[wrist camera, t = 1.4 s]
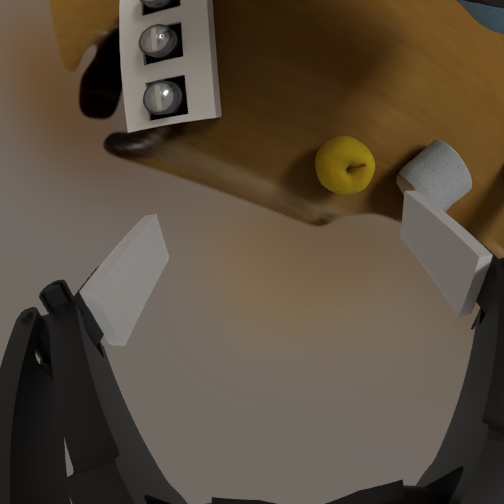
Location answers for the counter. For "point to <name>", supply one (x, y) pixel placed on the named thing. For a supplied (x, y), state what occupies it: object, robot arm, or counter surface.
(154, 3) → the knob
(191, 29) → the console
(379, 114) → the counter surface
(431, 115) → the counter surface
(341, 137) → the apple
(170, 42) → the knob mid
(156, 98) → the knob
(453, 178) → the ceramic mug
